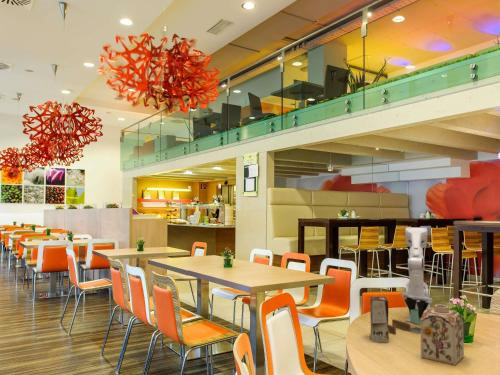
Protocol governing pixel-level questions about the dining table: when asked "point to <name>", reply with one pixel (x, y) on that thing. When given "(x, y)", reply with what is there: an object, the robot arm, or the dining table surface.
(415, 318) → the block
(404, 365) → the dining table surface
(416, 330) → the mat
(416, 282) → the robot arm
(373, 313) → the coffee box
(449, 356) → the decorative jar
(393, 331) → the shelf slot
